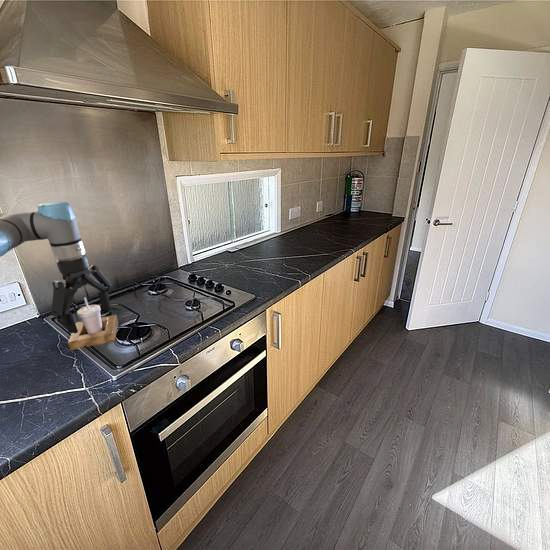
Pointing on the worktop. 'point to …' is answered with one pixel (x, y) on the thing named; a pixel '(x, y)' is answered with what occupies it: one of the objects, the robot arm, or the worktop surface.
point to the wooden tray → (94, 334)
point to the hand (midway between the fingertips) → (91, 320)
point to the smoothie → (91, 317)
